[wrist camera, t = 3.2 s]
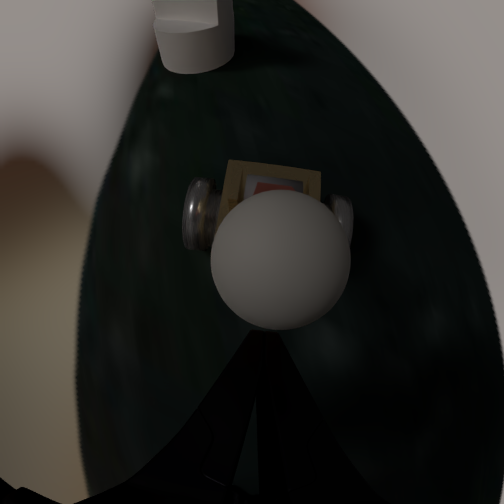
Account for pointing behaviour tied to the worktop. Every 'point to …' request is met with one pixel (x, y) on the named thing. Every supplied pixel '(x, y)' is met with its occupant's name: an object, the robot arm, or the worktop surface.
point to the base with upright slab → (194, 34)
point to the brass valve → (223, 201)
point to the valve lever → (280, 255)
